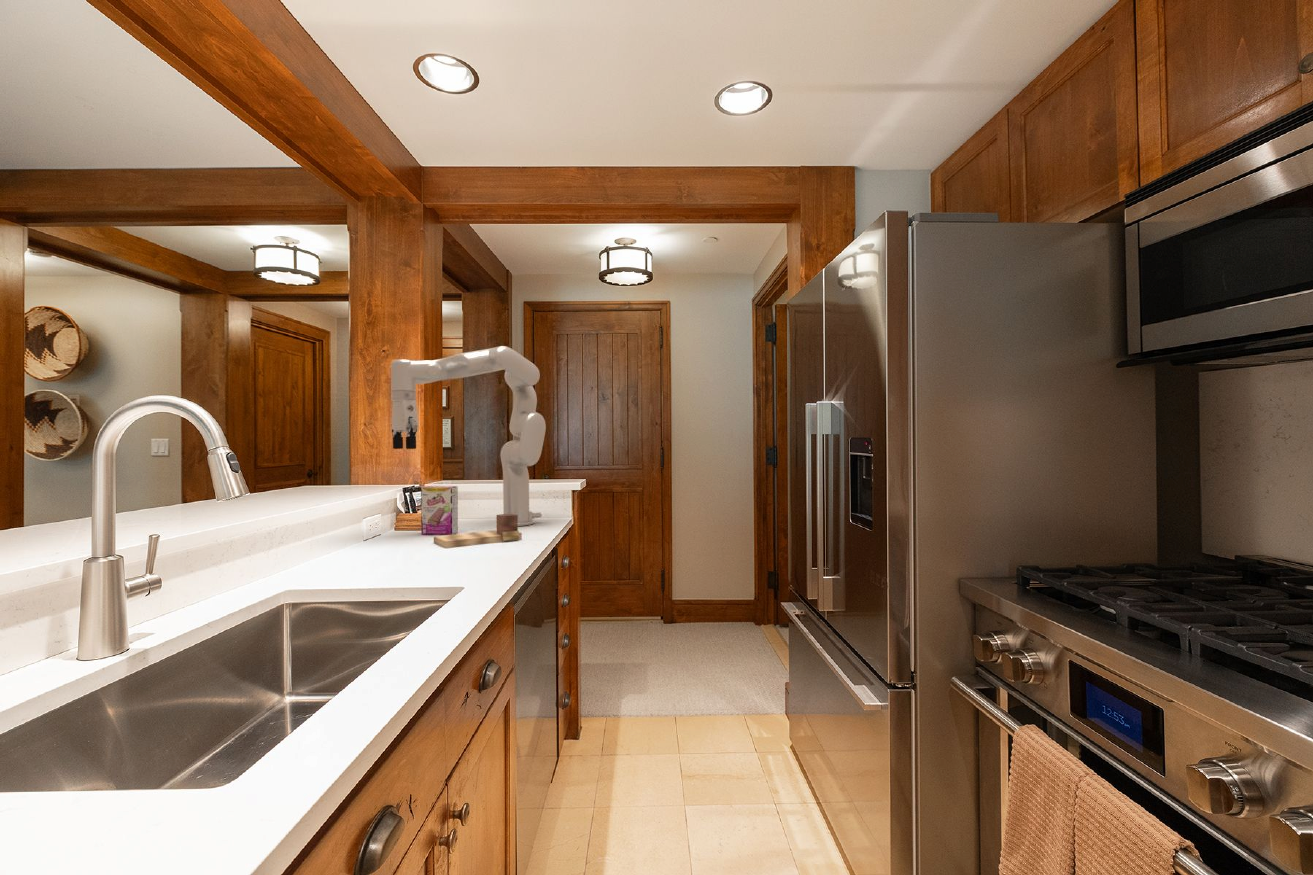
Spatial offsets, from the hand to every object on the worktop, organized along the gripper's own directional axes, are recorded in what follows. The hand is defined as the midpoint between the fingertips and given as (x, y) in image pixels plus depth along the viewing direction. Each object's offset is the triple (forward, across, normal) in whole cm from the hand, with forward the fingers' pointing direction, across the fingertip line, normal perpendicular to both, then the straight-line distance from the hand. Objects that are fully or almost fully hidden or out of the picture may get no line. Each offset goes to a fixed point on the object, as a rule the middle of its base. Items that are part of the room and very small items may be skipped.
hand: (404, 448), depth 202 cm
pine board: (+29, -26, -12) cm, 41 cm away
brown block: (+29, -32, -19) cm, 47 cm away
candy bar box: (+30, -2, -11) cm, 32 cm away
